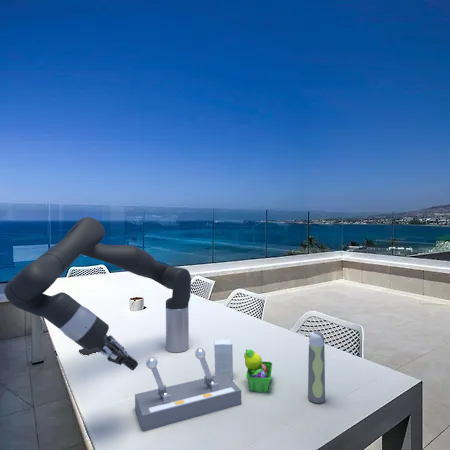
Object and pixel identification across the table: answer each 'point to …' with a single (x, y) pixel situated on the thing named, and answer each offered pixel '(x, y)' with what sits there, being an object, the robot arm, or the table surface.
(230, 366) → the skincare box
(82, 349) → the phone
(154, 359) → the switch near
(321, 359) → the camo grip handle
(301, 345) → the table surface
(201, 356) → the switch far
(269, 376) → the fruit basket
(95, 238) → the robot arm
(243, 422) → the table surface
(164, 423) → the switch console
